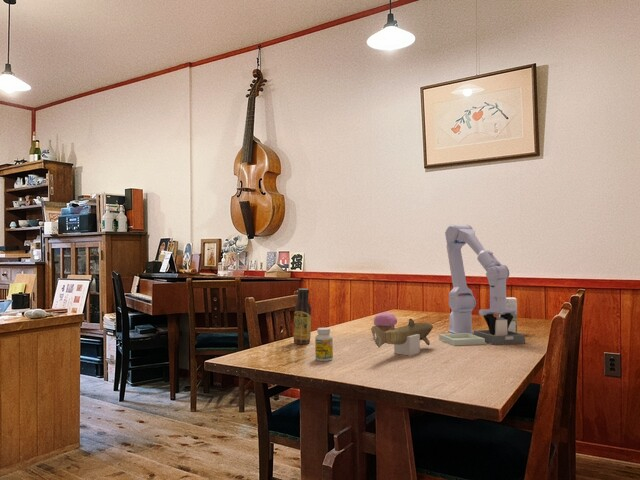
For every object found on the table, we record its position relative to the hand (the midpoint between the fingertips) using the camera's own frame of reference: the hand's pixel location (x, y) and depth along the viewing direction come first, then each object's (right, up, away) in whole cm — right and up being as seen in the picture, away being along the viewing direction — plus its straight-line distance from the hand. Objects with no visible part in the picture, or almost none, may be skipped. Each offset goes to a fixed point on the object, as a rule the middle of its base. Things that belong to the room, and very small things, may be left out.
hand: (498, 334), depth 182 cm
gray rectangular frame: (0, -2, 0) cm, 2 cm away
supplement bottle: (-65, -2, -30) cm, 72 cm away
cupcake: (-41, -3, +7) cm, 42 cm away
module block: (0, -2, 0) cm, 2 cm away
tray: (-14, -2, -2) cm, 15 cm away
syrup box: (+10, -3, +16) cm, 19 cm away
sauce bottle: (-73, -3, -3) cm, 73 cm away
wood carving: (-39, -2, -23) cm, 45 cm away
